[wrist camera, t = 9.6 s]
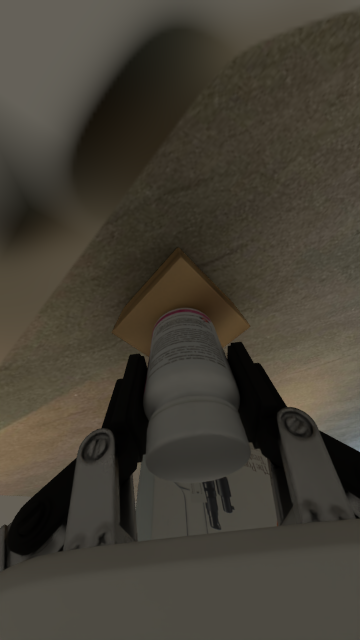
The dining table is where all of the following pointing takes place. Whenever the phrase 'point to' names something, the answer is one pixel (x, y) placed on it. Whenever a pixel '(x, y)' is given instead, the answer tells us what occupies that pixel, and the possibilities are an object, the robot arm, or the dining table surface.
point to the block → (177, 303)
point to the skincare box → (206, 502)
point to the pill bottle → (191, 402)
